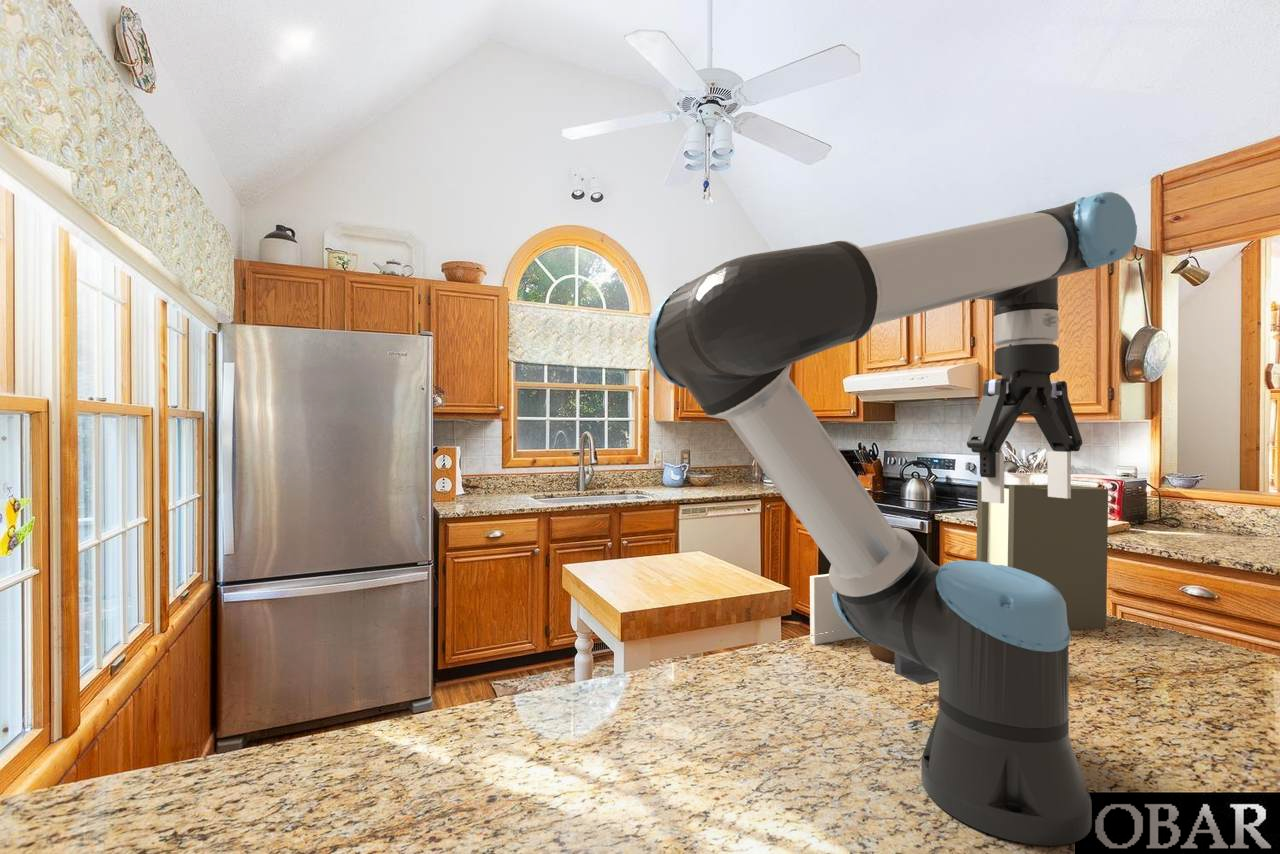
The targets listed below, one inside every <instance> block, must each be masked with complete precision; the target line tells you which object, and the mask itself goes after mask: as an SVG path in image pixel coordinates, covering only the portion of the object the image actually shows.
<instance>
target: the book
mask: <svg viewBox="0 0 1280 854" xmlns="http://www.w3.org/2000/svg"><path fill="white" fill-rule="evenodd" d="M976 505H977V507H976V509H977V511H976V512H977V513H976V560H975V561H981V562H987V563H990V564H993V565H1004V566H1008V567H1012V568H1016V569H1019V570H1022V571H1025V572H1028V573H1030V574H1033V575H1035V576H1038V577H1040V578H1042V579H1044V580H1045V581H1047V582H1049V583H1050V584H1052V585H1053V586H1054V587H1055V588H1056V589H1057V590H1058V591H1059V592H1060V593H1061V595H1062V597H1063V599H1064V601H1065V603H1066V610H1067V622H1068V626H1069V630H1070V631H1071V630H1074V631H1075V630H1107V605H1108V604H1107V603H1108V602H1107V598H1108V597H1107V596H1108V595H1107V594H1108V591H1107V590H1108V540H1109V539H1108V534H1109V533H1108V531H1109V530H1108V527H1109V517H1108V516H1109V488H1101V487H1100V488H1099V487H1093V486H1083V485H1082V486H1081V485H1080V486H1079V485H1071V498H1068V499H1067V498H1057V497H1048V484H1005V483H1004V503H1001V504H1000V503H992V502H983V501H982V492H981V481H980V480H979V481H977V503H976Z"/></svg>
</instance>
